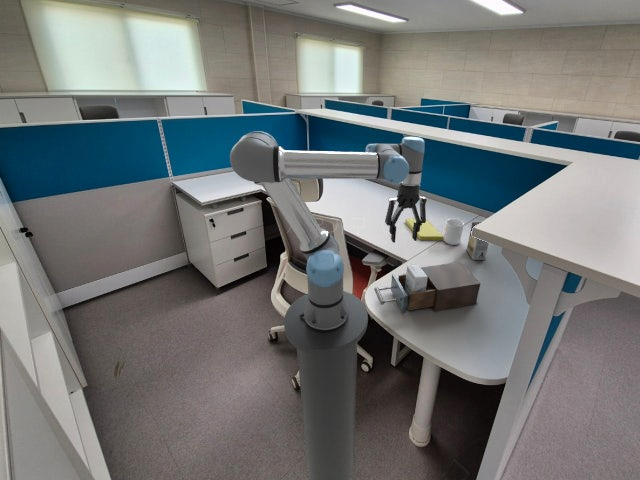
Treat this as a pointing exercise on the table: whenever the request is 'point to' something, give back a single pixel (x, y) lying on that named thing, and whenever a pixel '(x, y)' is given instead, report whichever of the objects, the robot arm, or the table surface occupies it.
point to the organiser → (452, 285)
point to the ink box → (415, 279)
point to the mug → (453, 231)
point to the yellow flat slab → (425, 230)
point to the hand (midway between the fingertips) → (403, 239)
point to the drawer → (414, 299)
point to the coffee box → (476, 246)
